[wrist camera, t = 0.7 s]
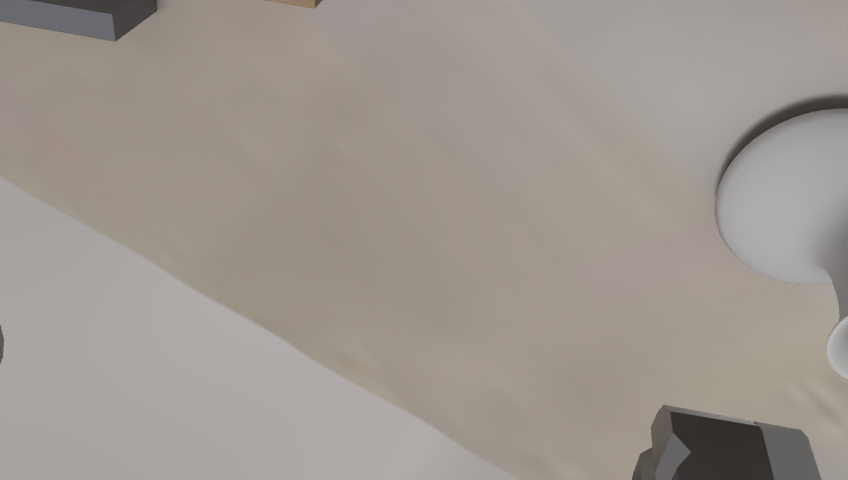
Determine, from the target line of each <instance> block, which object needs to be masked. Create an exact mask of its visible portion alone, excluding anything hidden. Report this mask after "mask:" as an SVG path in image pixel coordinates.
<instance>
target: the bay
mask: <svg viewBox="0 0 848 480" xmlns="http://www.w3.org/2000/svg"><path fill="white" fill-rule="evenodd" d="M156 11H157V10H156V0H0V21H1V22H7V23H13V24H18V25H24V26H30V27H35V28H41V29H47V30H53V31H58V32H64V33H70V34H75V35H81V36H87V37H93V38H98V39H104V40H110V41H115V42H116V41H117V40H118V39H120V38H121V37H122V36H124V35H125V34H126V33H128V32H129V31H130V30H132V29H133V28H134V27H136V26H137V25H138V24H140V23H141V22H142V21H144V20H145V19H147V18H148V17H149V16H151V15H152V14H153V13H155V12H156Z"/></svg>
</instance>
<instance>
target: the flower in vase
mask: <svg viewBox="0 0 848 480" xmlns="http://www.w3.org/2000/svg"><path fill="white" fill-rule="evenodd" d="M715 217H716V224H717V227H718V230H719V233H720V235H721V237H722V239H723V241H724V243H725V244H726V245H727V247H728V248H729V249H730V251H731V252H732V253H733V254H734V255H735V256H736V257H737V258H738V259H739V260H741V261H742V262H743V263H744V264H746V265H747V266H749V267H750V268H751V269H753V270H754V271H756V272H758V273H760V274H762V275H764V276H766V277H769V278H771V279H774V280H778V281H781V282H785V283H791V284H798V285H824V284H831V283H833V286H834V288H835V291H836V294H837V299H838V304H839V314H840V318H839V322H838V323H837V324H836V325H835V327H834V328H833V330H832V331H831V333H830V335H829V337H828V340H827V345H826V355H827V359H828V361H829V363H830V365H831V366H832V368H833V369H834V370H835V371H836V372H837V373H838V374H839V375H841V376H842V377H844V378H846V379H848V109H828V110H820V111H815V112H810V113H806V114H803V115H800V116H797V117H793V118H791V119H789V120H786V121H784V122H782V123H779V124H777V125H776V126H774V127H772V128H770V129H768V130H767V131H765V132H763V133H762V134H761V135H759V136H758V137H756V138H755V139H754V140H752V141H751V142H750V143H749V144H748V145H747V146H746V147H744V148H743V149H742V150H741V152H740V153H739V154H738V155H737V156H736V157H735V158H734V160H733V161H732V162H731V164H730V165H729V167H728V168H727V170H726V172H725V174H724V175H723V177H722V179H721V182H720V185H719V188H718V191H717V195H716V201H715Z"/></svg>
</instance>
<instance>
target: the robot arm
mask: <svg viewBox="0 0 848 480" xmlns="http://www.w3.org/2000/svg"><path fill="white" fill-rule="evenodd" d="M3 346H4V338H3V334H2V330H1V326H0V363H1V360H2V358H3ZM651 435H652V446H653V447H652V448H650V449H648V450H646V451H644V452H643V453H641V454H640V456H639V459H638V462H637V464H636V467H635V470H634V473H633V477H632V480H821V477H820V474H819V470H818V467H817V464H816V461H815V458H814V455H813V452H812V449H811V446H810V443H809V439H808V437H807V436H806V435H805V434H804V433H803V432H802V431H801V430H798V429H793V428H787V427H782V426H777V425H771V424H766V423H760V422H753V423H752V422H751V421H748V420H742V419H737V418H732V417H726V416H721V415H716V414H710V413H705V412H700V411H695V410H689V409H684V408H679V407H673V406H668V405H663V406H662V407H661V409H660V410H659V411H658V412H657V414H656V417H655V419H654V421H653V424H652V426H651Z"/></svg>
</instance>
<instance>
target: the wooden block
mask: <svg viewBox="0 0 848 480" xmlns="http://www.w3.org/2000/svg"><path fill="white" fill-rule="evenodd" d="M266 1H272V2H278V3H284V4H290V5H296V6H302V7H307V8H313V9H315V8H316V7H317V6H318V4H319V3H320V2H321V1H322V0H266Z"/></svg>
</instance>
